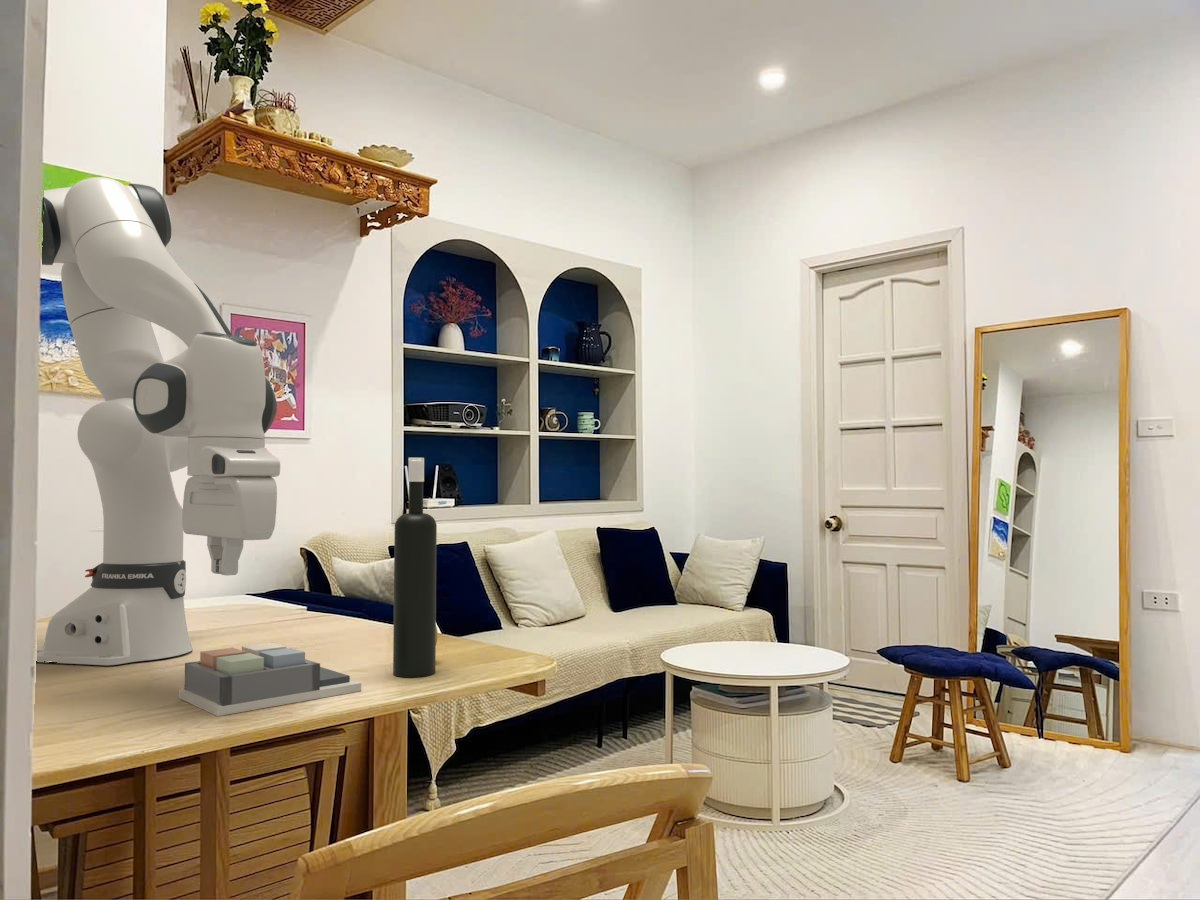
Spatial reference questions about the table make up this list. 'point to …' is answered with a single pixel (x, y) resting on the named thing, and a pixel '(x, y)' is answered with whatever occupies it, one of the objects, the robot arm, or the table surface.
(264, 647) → the key ivory
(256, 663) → the key sage
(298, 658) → the key slate
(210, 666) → the key terracotta
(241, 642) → the table surface
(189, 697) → the keypad
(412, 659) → the wine bottle
